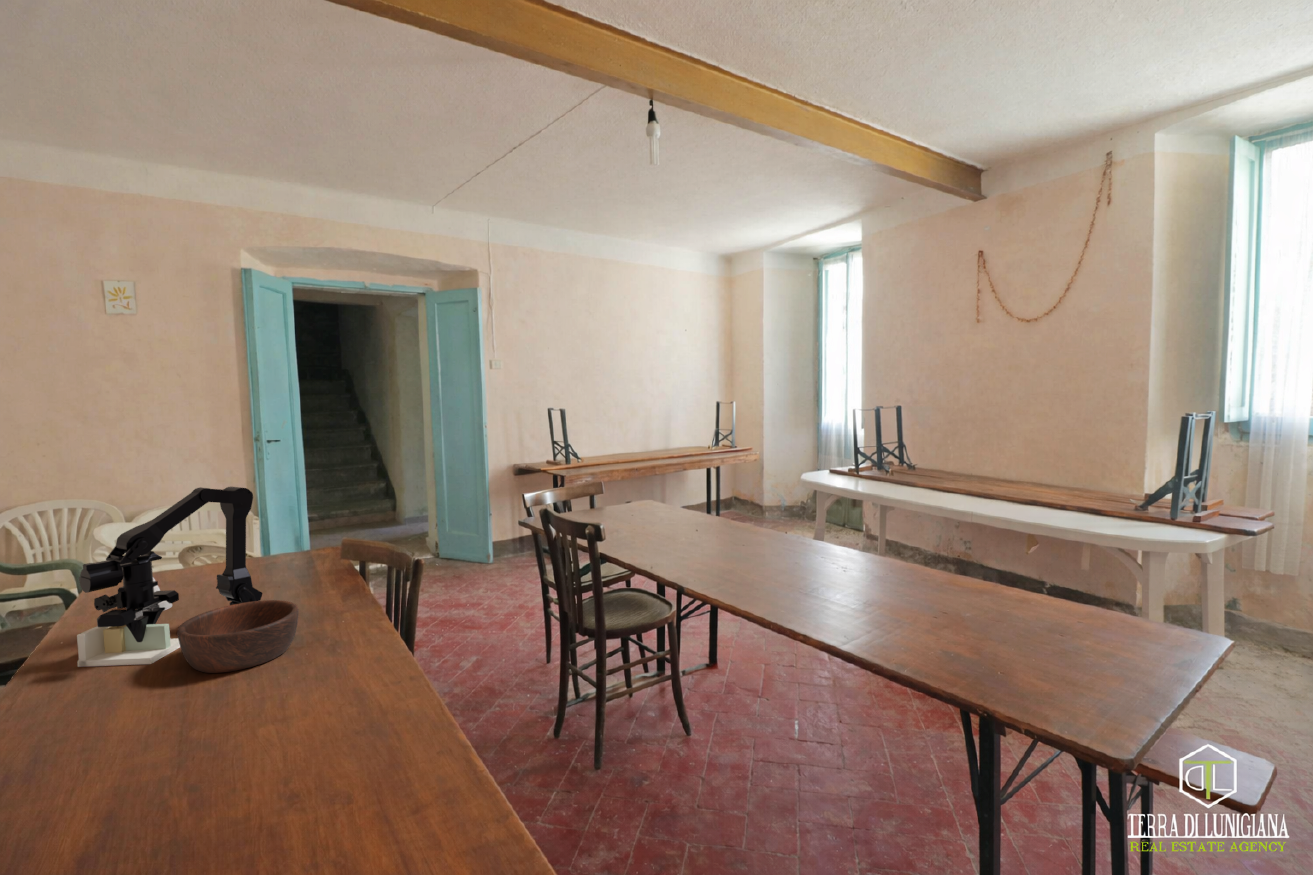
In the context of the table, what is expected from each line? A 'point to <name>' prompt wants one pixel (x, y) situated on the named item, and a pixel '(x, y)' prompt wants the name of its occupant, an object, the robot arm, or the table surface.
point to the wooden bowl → (238, 635)
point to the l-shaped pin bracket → (95, 655)
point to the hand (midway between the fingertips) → (142, 640)
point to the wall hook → (163, 603)
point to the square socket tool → (123, 640)
